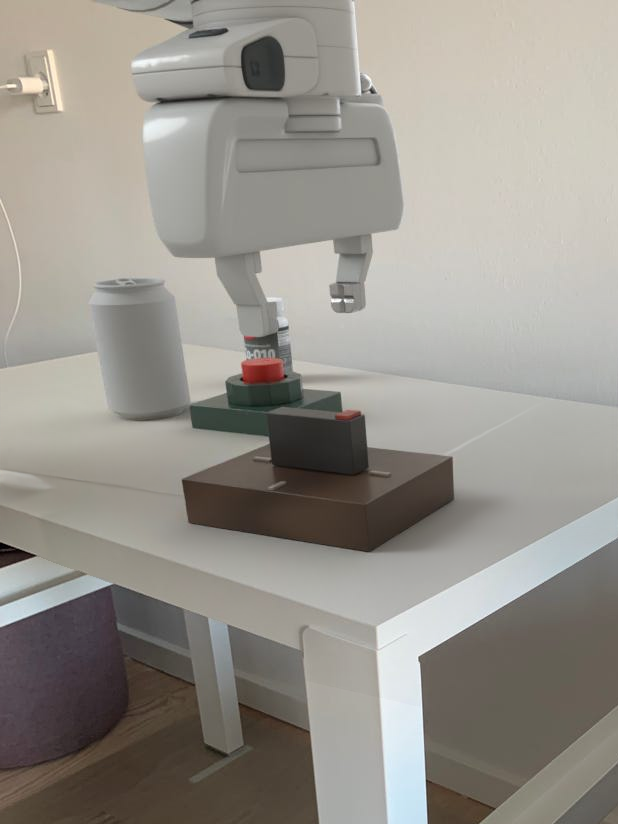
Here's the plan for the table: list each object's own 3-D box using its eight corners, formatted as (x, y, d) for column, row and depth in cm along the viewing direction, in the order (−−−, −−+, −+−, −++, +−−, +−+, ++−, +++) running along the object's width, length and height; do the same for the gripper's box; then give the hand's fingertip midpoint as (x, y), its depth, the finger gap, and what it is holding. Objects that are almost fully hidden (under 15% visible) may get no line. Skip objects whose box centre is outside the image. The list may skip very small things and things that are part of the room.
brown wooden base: (188, 522, 66) (180, 476, 64) (288, 477, 75) (283, 435, 73) (369, 552, 60) (365, 501, 59) (454, 499, 69) (452, 453, 67)
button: (235, 384, 88) (232, 363, 87) (260, 376, 91) (258, 356, 90) (268, 386, 86) (265, 366, 86) (292, 378, 89) (290, 358, 89)
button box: (192, 429, 89) (185, 383, 87) (255, 407, 96) (250, 364, 94) (284, 439, 85) (278, 391, 83) (343, 415, 92) (339, 371, 90)
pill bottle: (240, 385, 106) (229, 302, 102) (264, 376, 110) (254, 296, 106) (279, 387, 104) (270, 303, 100) (302, 378, 108) (294, 296, 104)
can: (130, 427, 90) (104, 286, 85) (97, 413, 95) (71, 280, 90) (206, 412, 94) (186, 278, 89) (170, 400, 100) (150, 272, 94)
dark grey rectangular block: (271, 465, 67) (264, 408, 65) (287, 458, 68) (281, 402, 66) (354, 475, 64) (349, 416, 62) (369, 467, 65) (364, 410, 64)
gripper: (336, 77, 66) (355, 298, 72) (104, 59, 49) (154, 348, 55) (420, 70, 63) (432, 301, 69) (204, 49, 47) (245, 354, 53)
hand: (307, 322), depth 62 cm, fingers open, 8 cm apart
